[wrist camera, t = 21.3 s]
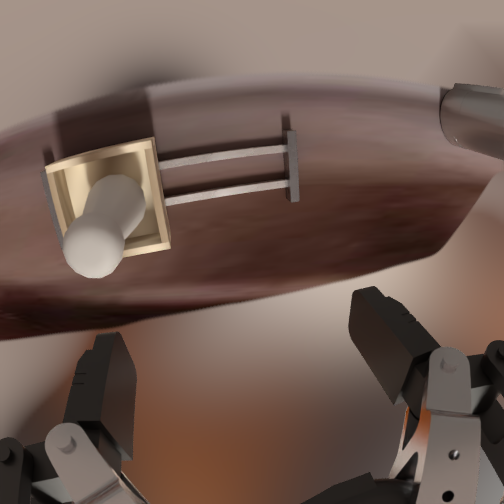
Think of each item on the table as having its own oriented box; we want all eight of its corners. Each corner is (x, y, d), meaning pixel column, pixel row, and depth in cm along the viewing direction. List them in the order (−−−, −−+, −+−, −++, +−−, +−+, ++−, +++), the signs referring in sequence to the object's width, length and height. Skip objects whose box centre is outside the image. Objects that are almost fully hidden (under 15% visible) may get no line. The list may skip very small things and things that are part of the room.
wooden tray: (63, 157, 28) (45, 166, 23) (155, 135, 29) (151, 140, 25) (85, 245, 32) (73, 267, 28) (170, 228, 34) (170, 248, 29)
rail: (290, 125, 32) (297, 126, 31) (294, 201, 37) (300, 206, 35) (42, 170, 28) (35, 173, 26) (62, 243, 32) (57, 250, 30)
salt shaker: (125, 235, 31) (102, 308, 19) (83, 203, 28) (35, 261, 17) (159, 192, 30) (150, 246, 18) (115, 157, 27) (76, 191, 16)
